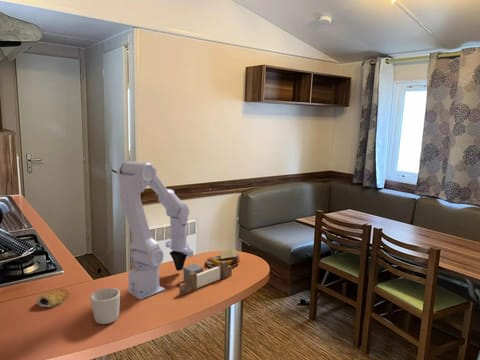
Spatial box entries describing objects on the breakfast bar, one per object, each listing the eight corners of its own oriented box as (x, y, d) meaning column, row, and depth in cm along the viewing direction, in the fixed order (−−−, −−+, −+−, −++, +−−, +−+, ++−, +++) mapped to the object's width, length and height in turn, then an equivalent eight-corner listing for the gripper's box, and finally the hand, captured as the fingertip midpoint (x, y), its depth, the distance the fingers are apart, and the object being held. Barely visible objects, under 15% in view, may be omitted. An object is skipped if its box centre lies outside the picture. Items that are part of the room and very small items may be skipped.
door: (196, 288, 126) (196, 274, 125) (194, 287, 127) (194, 273, 126) (221, 278, 134) (221, 265, 133) (219, 277, 135) (219, 264, 134)
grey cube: (192, 285, 129) (191, 271, 128) (183, 280, 132) (183, 267, 132) (203, 281, 132) (203, 267, 132) (194, 276, 136) (194, 263, 135)
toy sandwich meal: (207, 258, 154) (207, 247, 153) (239, 258, 154) (240, 247, 153) (204, 270, 141) (204, 259, 140) (239, 271, 141) (239, 259, 140)
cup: (83, 315, 109) (81, 290, 108) (109, 306, 115) (108, 281, 113) (99, 330, 102) (97, 303, 100) (126, 319, 107) (125, 294, 106)
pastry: (58, 292, 123) (57, 282, 123) (74, 296, 122) (74, 285, 121) (35, 306, 115) (34, 295, 114) (52, 310, 113) (51, 298, 112)
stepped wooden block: (182, 295, 121) (182, 278, 120) (178, 293, 123) (178, 276, 122) (232, 275, 137) (232, 260, 136) (228, 273, 138) (228, 258, 137)
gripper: (199, 237, 133) (200, 272, 136) (176, 228, 144) (177, 261, 146) (183, 241, 128) (184, 278, 131) (160, 232, 139) (161, 266, 141)
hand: (179, 269), depth 138 cm, fingers closed
